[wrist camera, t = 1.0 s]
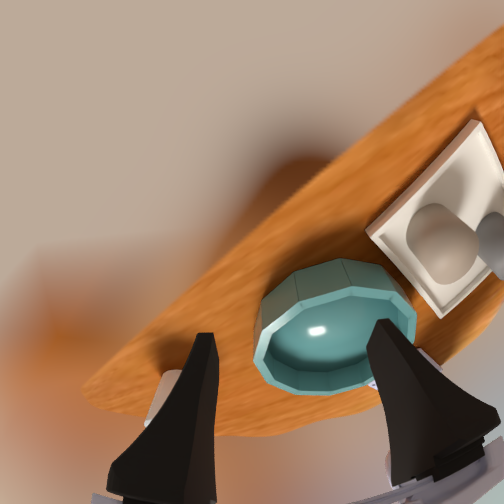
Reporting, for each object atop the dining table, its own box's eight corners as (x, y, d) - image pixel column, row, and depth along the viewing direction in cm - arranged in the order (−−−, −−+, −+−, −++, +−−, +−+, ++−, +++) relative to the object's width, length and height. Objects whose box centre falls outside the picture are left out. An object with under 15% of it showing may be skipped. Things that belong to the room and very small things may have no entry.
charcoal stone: (507, 233, 19) (531, 254, 15) (480, 264, 20) (501, 288, 17) (497, 201, 17) (525, 222, 14) (466, 235, 19) (492, 260, 15)
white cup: (219, 396, 32) (214, 445, 26) (169, 395, 33) (159, 441, 27) (203, 365, 28) (194, 422, 22) (147, 365, 29) (132, 416, 23)
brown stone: (458, 228, 19) (485, 254, 15) (421, 265, 20) (443, 294, 17) (436, 191, 17) (467, 213, 14) (395, 232, 19) (419, 261, 16)
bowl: (423, 311, 24) (437, 336, 21) (322, 381, 30) (326, 406, 27) (342, 226, 20) (356, 252, 17) (224, 331, 25) (221, 361, 22)
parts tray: (516, 229, 19) (523, 235, 18) (435, 311, 24) (440, 319, 23) (471, 118, 14) (480, 121, 13) (364, 229, 20) (369, 237, 19)
